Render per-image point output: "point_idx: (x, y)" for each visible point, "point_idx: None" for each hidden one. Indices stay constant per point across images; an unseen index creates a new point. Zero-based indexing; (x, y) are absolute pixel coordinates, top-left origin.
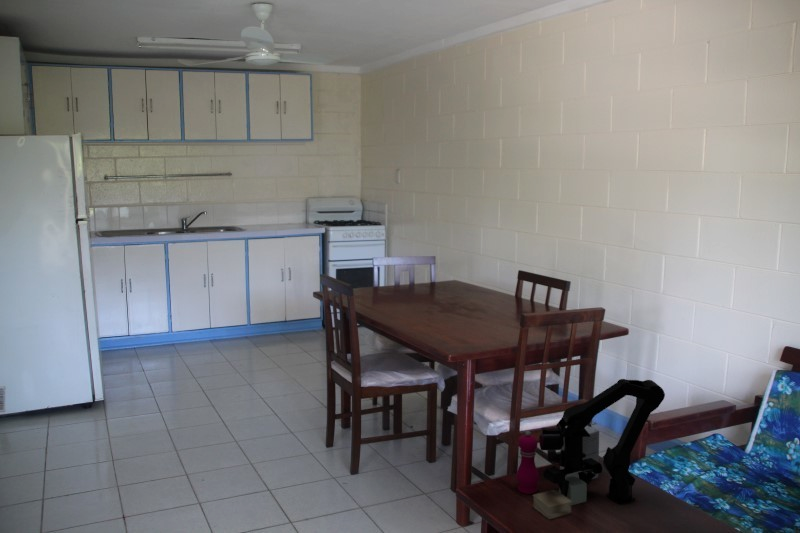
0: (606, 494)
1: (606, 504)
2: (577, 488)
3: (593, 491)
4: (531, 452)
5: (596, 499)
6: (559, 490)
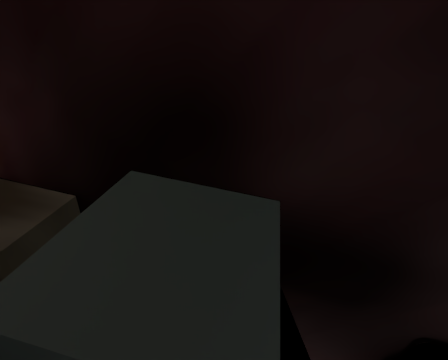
0: (423, 354)
1: (313, 356)
2: None
3: (434, 271)
4: None
5: (324, 318)
6: (93, 211)
